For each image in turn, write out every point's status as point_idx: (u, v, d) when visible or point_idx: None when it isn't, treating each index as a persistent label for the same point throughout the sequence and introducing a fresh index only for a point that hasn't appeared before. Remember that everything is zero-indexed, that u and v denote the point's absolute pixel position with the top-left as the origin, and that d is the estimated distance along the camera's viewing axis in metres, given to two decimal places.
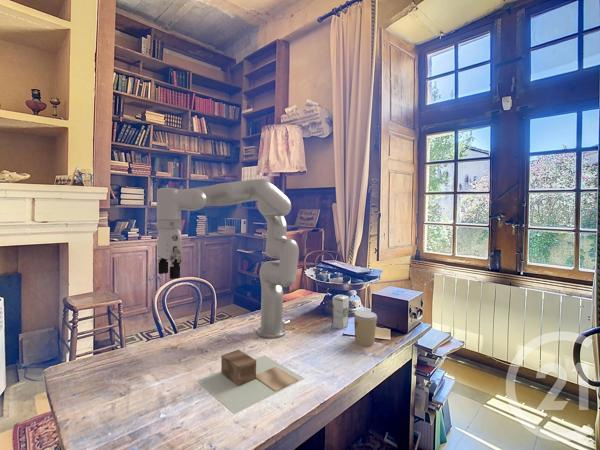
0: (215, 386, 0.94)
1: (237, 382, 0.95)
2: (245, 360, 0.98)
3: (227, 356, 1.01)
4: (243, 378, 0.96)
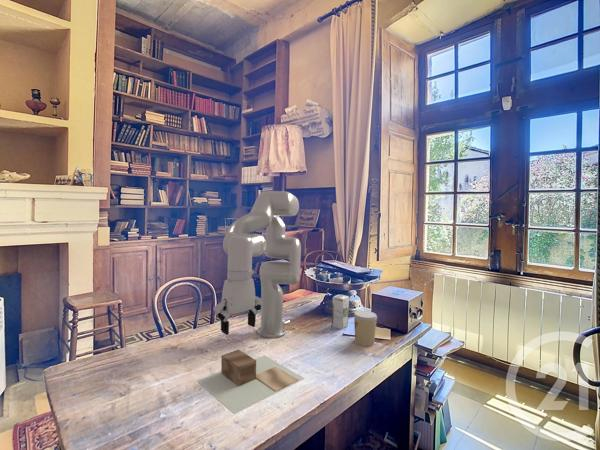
0: (215, 386, 0.94)
1: (237, 382, 0.95)
2: (245, 360, 0.98)
3: (227, 356, 1.01)
4: (243, 378, 0.96)
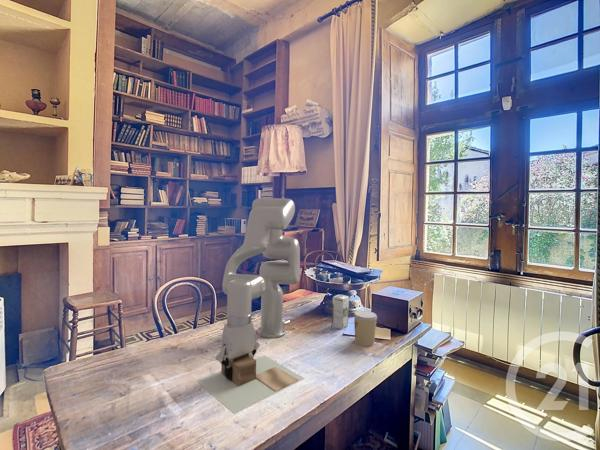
0: (215, 386, 0.94)
1: (237, 382, 0.95)
2: (245, 360, 0.98)
3: None
4: (243, 378, 0.96)
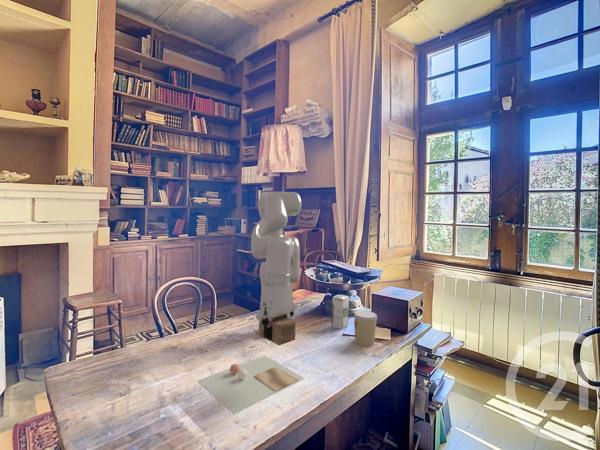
0: (215, 386, 0.94)
1: (278, 341, 0.93)
2: (284, 320, 0.97)
3: None
4: (283, 337, 0.94)
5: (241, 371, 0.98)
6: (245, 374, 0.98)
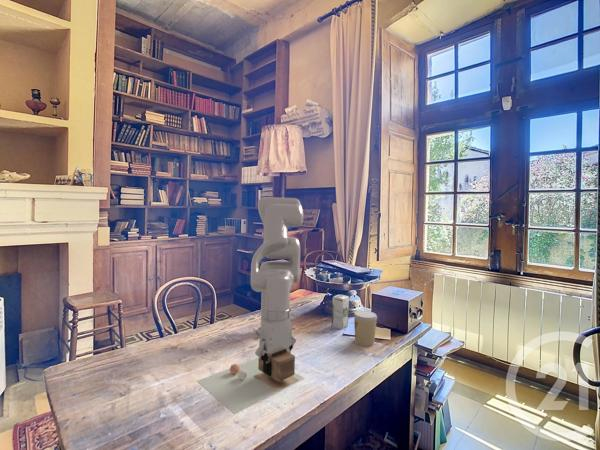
0: (215, 386, 0.94)
1: (277, 378, 0.94)
2: (284, 355, 0.97)
3: None
4: (282, 373, 0.94)
5: (241, 371, 0.98)
6: (245, 374, 0.98)
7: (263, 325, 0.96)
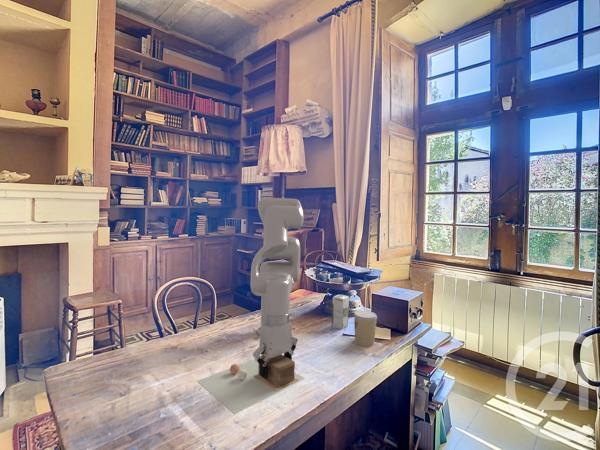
0: (215, 386, 0.94)
1: (277, 384, 0.94)
2: (284, 361, 0.98)
3: None
4: (282, 379, 0.95)
5: (241, 371, 0.98)
6: (245, 374, 0.98)
7: (263, 329, 0.96)
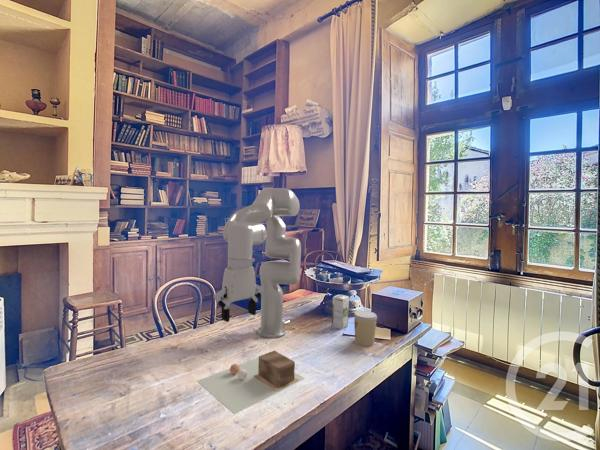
0: (215, 386, 0.94)
1: (277, 384, 0.94)
2: (284, 361, 0.98)
3: (264, 357, 1.00)
4: (282, 379, 0.95)
5: (241, 371, 0.98)
6: (245, 374, 0.98)
7: (225, 273, 0.96)
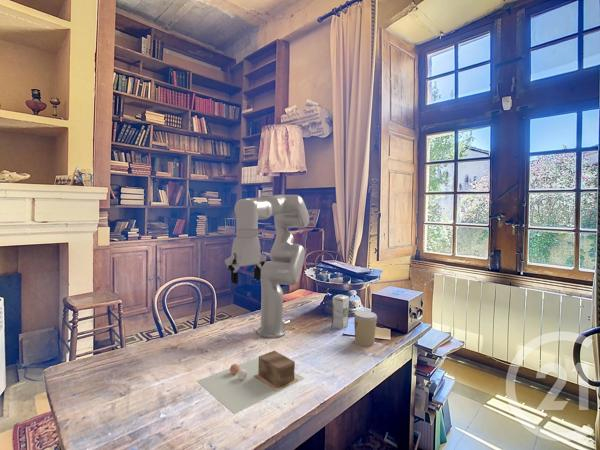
0: (215, 386, 0.94)
1: (277, 384, 0.94)
2: (284, 361, 0.98)
3: (264, 357, 1.00)
4: (282, 379, 0.95)
5: (241, 371, 0.98)
6: (245, 374, 0.98)
7: (234, 242, 1.10)
